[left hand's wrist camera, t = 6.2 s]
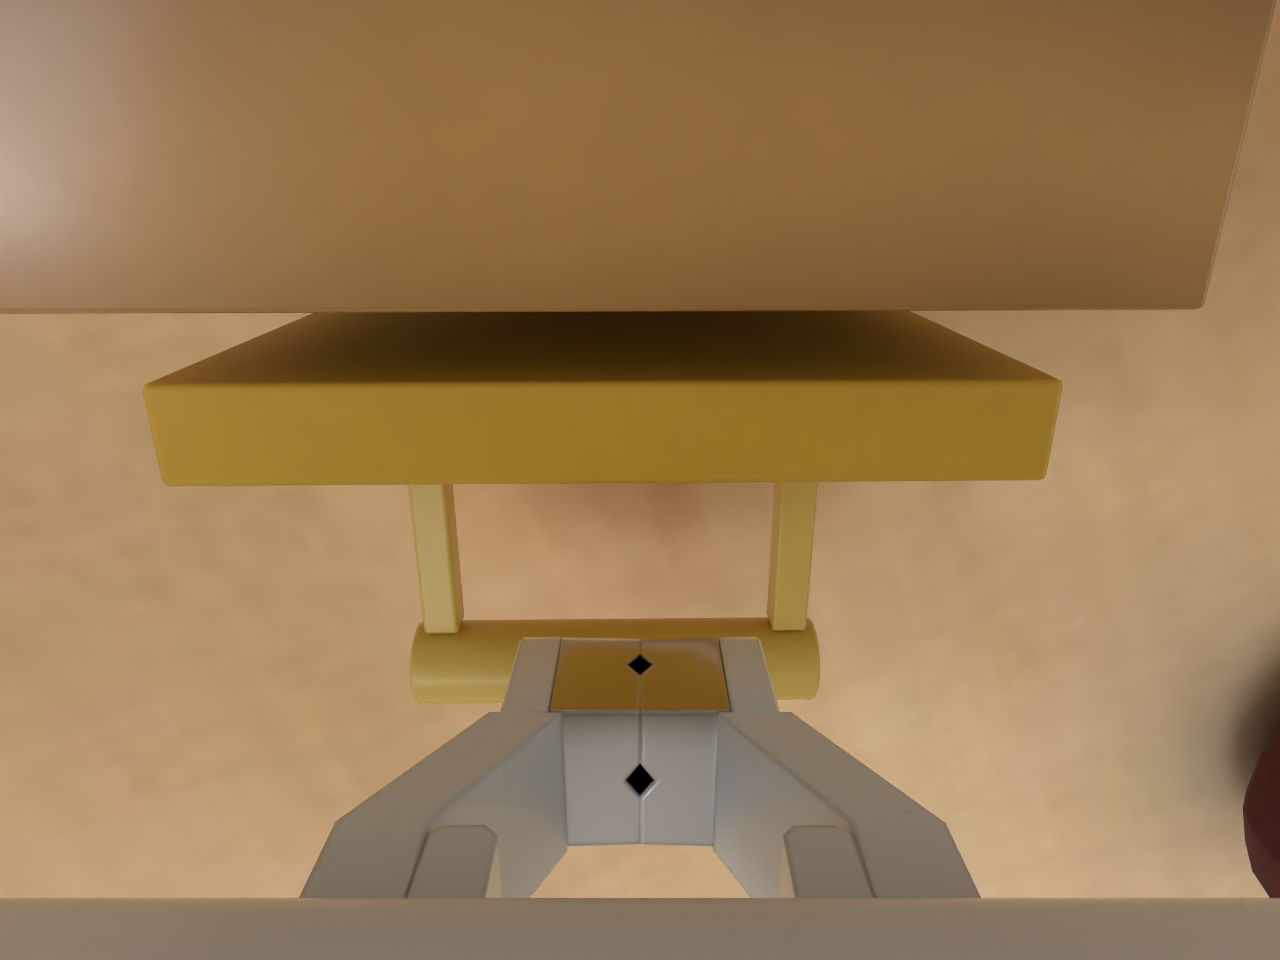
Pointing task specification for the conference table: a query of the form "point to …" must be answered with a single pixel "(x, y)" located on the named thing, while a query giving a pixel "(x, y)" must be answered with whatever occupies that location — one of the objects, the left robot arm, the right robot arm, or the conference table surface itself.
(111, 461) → the conference table surface
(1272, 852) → the dark red ball
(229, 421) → the drawer
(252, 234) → the cabinet
